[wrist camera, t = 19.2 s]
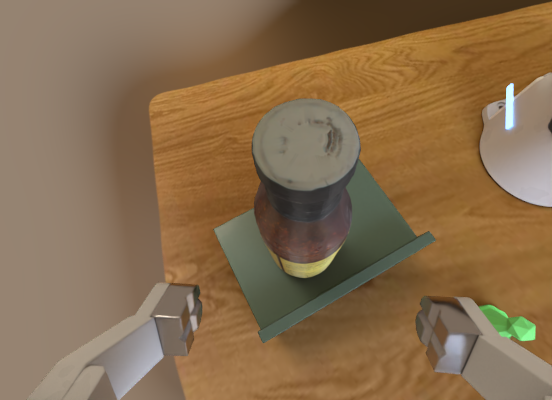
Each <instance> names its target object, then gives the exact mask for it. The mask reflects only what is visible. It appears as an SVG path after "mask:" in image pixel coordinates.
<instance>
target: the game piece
mask: <svg viewBox="0 0 552 400" xmlns="http://www.w3.org/2000/svg"><path fill="white" fill-rule="evenodd" d="M479 308H480V310H481V311H482V312H483V314H484V315H485V316H486V317H487V319H488V320H489V321H490V323H491V324H492V325H493V326H494V328H495V329H496V330H497V332H498V333H499V334H500V335H501V337H507V338H509V339H510V337H511V336H513V337H515V338H516V339H518V340H520V341H526V340H535V325H534V324H533V323H531V322H529V321H528V320H526V319H525V318H523V317H522V316H520V317H512V318H508V317H507V315H506V313H504V312H503V311H501V310H499V309H497V308H496V307H494V306H492V305H483V306H479Z"/></svg>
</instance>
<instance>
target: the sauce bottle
mask: <svg viewBox="0 0 552 400" xmlns="http://www.w3.org/2000/svg"><path fill="white" fill-rule="evenodd" d="M360 151H361V147H360V139H359V135H358V132H357V129H356V126H355V125H354V123H353V122H352V120H351V119H350V117H349V116H348V115H347V114H346V113H345V112H344V111H342V110H341V109H340V108H339V107H338V106H336V105H334V104H332V103H330V102H327V101H324V100H321V99H296V100H293V101H289V102H285V103H283V104H281V105H278V106H276V107H274V108H273V109H271V110H270V111H269V112H268V113H266V114H265V115H264V117H263V118H262V119H261V120H260V122H259V123H258V125H257V127H256V129H255V132H254V135H253V139H252V155H253V159H254V164H255V167H256V171H257V174H258V176H259V178H260V180H261V183H260V186H259V188H258V191H257V194H256V197H255V201H254V215H255V218H256V223H257V225H258V228H259V231H260V234H261V237H262V239H263V241H264V243H265V245H266V246H267V248H268V250H269V252H270V253H271V255H272V257H273V259H274V261H275V262H276V264H277V265H278V266H279V267H280V269H283V270H284V272H286V273H287V274H289V275H292V276H295V277H299V278H308V277H312V276H315V275H317V274H319V273H321V272H322V271H324V270H325V269H326V268H327V267H328V266H329V265H330V263H331V262H332V260H333V259H334V257H335V255H336V254H337V252H338V251H339V249H340V248H341V246H342V245H343V243H344V242H345V240H346V238H347V235H348V233H349V230H350V227H351V222H352V203H351V198H350V196H349V193H348V191H347V189H346V186H347V185H348V183H349V182H350V180H351V178H352V177H353V176H354V173H355V170H356V166H357V163H358V159H359V155H360Z"/></svg>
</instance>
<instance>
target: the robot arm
mask: <svg viewBox="0 0 552 400" xmlns="http://www.w3.org/2000/svg"><path fill="white" fill-rule="evenodd" d="M482 118H483V123H484V129H483V132H482V135H481V139H480V154H481V158H482V161H483V164H484V166H485V168H486V169H487V171H488V173H489V174H490V175H491V177H492V178H493V179H494V180H495V181H496V182H497V183H498V184H499V185H500V186H501V187H502V188H503V189H505V190H506V191H507V192H509V193H510V194H512V195H514V196H515V197H517V198H519V199H521V200H524V201H526V202H529V203H532V204H536V205H540V206H547V207H552V73H548V74H546V75H544V76H541V77H539V78H537V79H536V80H535V81H533V82H532V83H531V84H530V85H528V86H527V87H526V88H525V89H524V90H522V91H521V92H520V93H519V94H518V95H516V96H513V84H510V85H509V86H508V87H507V96H506V99H504V100H500V101H497V102H494V103H491V104H489V105H487V106H486V107H485V108H484V109H483V110H482ZM199 295H200V289H199V286H198V285H192V284H179V283H161V282H159V283H157V284H156V285H155V286H154V287H153V289H152V290H151V292H150V293H149V295H148V296H147V298H146V299H145V301H144V303H143V304H142V305H141V307H140V309H139V310H138V312H137V313H136V315H135V316H129V317H128V318H126V319H125V320H123V321H122V322H120V323H118V324H117V325H115V326H114V327H112V328H110V329H109V330H107V331H106V332H104V333H102V334H101V335H99V336H98V337H96V338H95V339H93V340H91V341H90V342H88V343H87V344H85V345H83V346H82V347H80V348H79V349H77V350H75V351H74V352H72V353H71V354H69V355H67V356H66V357H64V358H63V359H61V360H60V361H58V362H57V363H56V364H55V365H54V367H53V368H52V369H51V370H50V372H49V373H48V374H47V375H46V376H45V378H44V379H43V380H42V381H41V383H40V384H39V385H38V386H37V388H36V389H35V390H34V391H33V392H32V394H31V395H30V396H29V397H28V399H27V400H119V399H120V398H121V397H122V396H123V395H124V394H126V393H127V392H128V391H129V390H130V389H131V388H132V387H133V386H134V385H135V384H136V383H137V382H138V381H139V380H140V379H141V378H142V377H143V376H144V375H145V374H146V373H147V372H148V371H149V370H150V369H151V368H153V367H154V366H155V365H156V364H157V363H158V362H159V361H160V360H161V359H162V358H163V357H164V356H163V355H171V356H188V354H189V351H190V349H191V346H192V343H193V341H194V335H193V332H194V331H196V330H197V329H198V328H199V325H200V322H201V317H202V302H201V301H200V300H199V299H198V297H199ZM420 305H421V307H422V310H421V311H420V312H418V313H417V316H416V331H417V334H418V337H419V339H420V341H421V342H422V343H423V344H424V345H425V346H427V347H428V348H427V351H426V355H427V357H428V359H429V361H430V363H431V365H432V367H433V370H434V372H442V373H453V374H462V375H461V376H462V377H463V378H464V379H465V380H466V381H467V382H468V383H469V384H471V385H472V386H473V387H474V388H475V389H476V390H477V391H478V392H479V393H480V394H481V395H482V396H483V397H484V398H485V399H486V400H552V366H551V365H549V364H548V363H546V362H545V361H543V360H542V359H540V358H539V357H537V356H535V355H534V354H532V353H531V352H529V351H528V350H526V349H524V348H523V347H521V346H520V345H518V344H517V343H515V342H513V341H512V340H510V339H509V338H507V337H501V335H500V334H499V333H498V332H497V330H496V329H495V328H494V326H493V325H492V324H491V323H490V321H489V320H488V319H487V317H486V316H485V315H484V314H483V312H482V311H481V310H480V308H479V307H478V306H477V305H476V303H475V302H474V301H473V300H472V299H471V298H469V297H442V296H424V297H423V298H422V299H421V302H420Z"/></svg>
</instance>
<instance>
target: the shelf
mask: <svg viewBox="0 0 552 400" xmlns="http://www.w3.org/2000/svg"><path fill="white" fill-rule="evenodd" d="M346 189H347V191H348V193H349V196H350V198H351V203H352V222H351V227H350V230H349V233H348V235H347V238H346V240H345V242H344V243H343V245H342V246H341V248H340V249H339V251H338V252H337V254H336V255H335V257H334V259H333V260H332V262H331V263H330V265H329V266H328V267H327V268H326V269H325V270H324V271H322V272H321V273H319V274H317V275H315V276H312V277H308V278H299V277H295V276H292V275H289V274H287V273H286V272H284V270H283V269H280V267H279V266H278V265H277V264H276V262H275V261H274V259H273V257H272V255H271V253H270V252H269V250H268V248H267V246H266V245H265V243H264V241H263V239H262V237H261V234H260V231H259V228H258V225H257V223H256V218H255V215H254V208H253V209H251V210H249V211H247V212H245V213H243V214H241V215H239V216H237V217H235V218H234V219H232V220H230V221H228V222H226V223H224V224H222V225H220V226H218V227H216V228H215V229H213V230H214V232H215V234H216V236H217V238H218V241H219V243H220V245H221V247H222V249H223V251H224V253H225V255H226V257H227V260H228V262H229V264H230V266H231V268H232V270H233V272H234V274H235V276H236V278H237V281H238V283H239V285H240V287H241V289H242V291H243V293H244V295H245V297H246V299H247V302H248V304H249V306H250V308H251V310H252V312H253V314H254V316H255V318H256V320H257V323H258V325H259V327H260V329H261V330H259V331H258V334H259V336H260V338H261V340H262V342H263V343H265V342H266V341H268V340H270V339H271V338H273V337H275V336H277V335H278V334H280V333H282V332H283V331H285V330H287V329H288V328H290V327H292V326H293V325H295V324H297V323H298V322H300V321H302V320H303V319H305V318H307V317H308V316H310V315H312V314H313V313H315V312H317V311H318V310H320V309H322V308H323V307H325V306H327V305H328V304H330V303H332V302H334V301H335V300H337V299H339V298H340V297H342V296H344V295H345V294H347V293H349V292H350V291H352V290H354V289H355V288H357V287H359V286H360V285H362V284H364V283H365V282H367V281H369V280H370V279H372V278H374V277H375V276H377V275H379V274H380V273H382V272H384V271H385V270H387V269H389V268H390V267H392V266H394V265H396V264H397V263H399V262H401V261H402V260H404V259H406V258H407V257H409V256H411V255H412V254H414V253H416V252H417V251H419V250H421V249H422V248H424V247H426V246H427V245H429V244H431V243H432V242H434V241H436V239H435V238H434V237H433V236H432V234H431V233H430V232H429V231H428V232H426V233H424V234H422V235H420V236H418V237H417V236H416V235H415V234H414V232H413V231H412V229H411V228H410V227H409V225H408V224H407V223H406V221H405V220H404V219H403V217H402V216H401V215H400V213H399V212H398V211H397V209H396V208H395V207H394V205H393V204H392V203H391V201H390V200H389V199H388V197H387V196H386V194H385V193H384V192H383V190H382V189H381V188H380V186H379V185H378V184H377V182H376V181H375V180H374V178H373V177H372V176H371V174H370V173H369V172H368V170H367V169H366V168H365V166H364V165H363V164H362V162H361V161H360V159H358V163H357V166H356V170H355V173H354V176H353V177H352V178H351V180H350V182H349V183H348V185H347V186H346Z"/></svg>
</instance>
